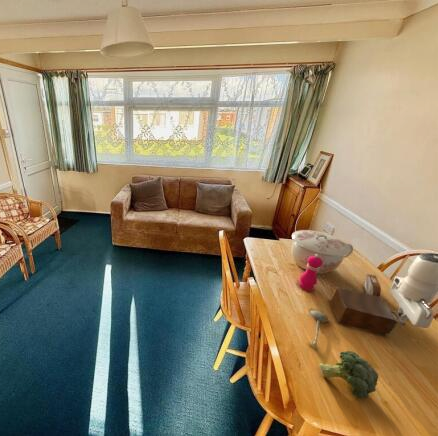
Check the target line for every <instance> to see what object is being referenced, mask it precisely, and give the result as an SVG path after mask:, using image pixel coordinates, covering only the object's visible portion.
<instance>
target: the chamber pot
mask: <svg viewBox="0 0 438 436" xmlns="http://www.w3.org/2000/svg"><path fill="white" fill-rule="evenodd" d="M291 238H292V243H291V247H290V248H291V249H290V254H291V256H292V258H293V261H294V263H295V264H296V265H297V266H299V267H300V268H302V269H303V270H305V271H306V270H307V264H308V258H309V257H311V256H315V255H316V254H318V255H319V258H321V259H322V261H323V263H322V266H320V267H319V270H317V272H316V274H326V273H327V274H328V273H330V272H332V271H334V270H336V269H337V268H338V267H340V265H341V264H342V262H343V261H344V259H345V258H348V257H349V256H351V255H352V254H353V252H354V246H353V245H352V244H351V243H350V242H346V241H345V240H343V239H341V238H339V237H337V236H335V235H332V234H329V233H326V232H323V231H317V230H312V229H300V230H295V231H294V232H292V234H291Z"/></svg>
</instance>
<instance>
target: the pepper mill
mask: <svg viewBox="0 0 438 436" xmlns="http://www.w3.org/2000/svg"><path fill="white" fill-rule="evenodd" d="M322 263H323V261H322V259H321V258H319V255H318V254H316V255H315V256H311V257H309V258H308V264H307V270H305V271H304V272H303V273H301V275H300V276H299V281H298V286H299V287H300V288H301V289H302V290H304V291H313V289H314V287H315V286H316V285H317V282H318V279H317V273H316V272H317V270H319V267H320V266H322Z"/></svg>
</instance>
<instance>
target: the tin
mask: <svg viewBox="0 0 438 436" xmlns="http://www.w3.org/2000/svg"><path fill="white" fill-rule="evenodd" d="M363 284H364V285H363V286H364V290H365V293H366V294H370V295H374V296H379V297H381V294H382V287H381V284H380V282H379V280H378V277H377V275H375V274H374V275H373V274H367V275H366V277H365V280H364V283H363Z"/></svg>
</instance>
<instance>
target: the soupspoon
mask: <svg viewBox="0 0 438 436" xmlns="http://www.w3.org/2000/svg"><path fill="white" fill-rule="evenodd" d="M310 315H311V316H312V317H313V318H314V320H316V330H315V335H314V336H315V337H314V340H313V343H312V344H311V347H312V348H315V349H317V348H318V346H317V345H318V343H317V342H318V337H319V333H320V332H319V330H320V324H321V323H326V322H328V321H329V317H328V315H326V314H325V313H323V312H322V311H319V310H315V309H314V310H313V309H312V310H310Z"/></svg>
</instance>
